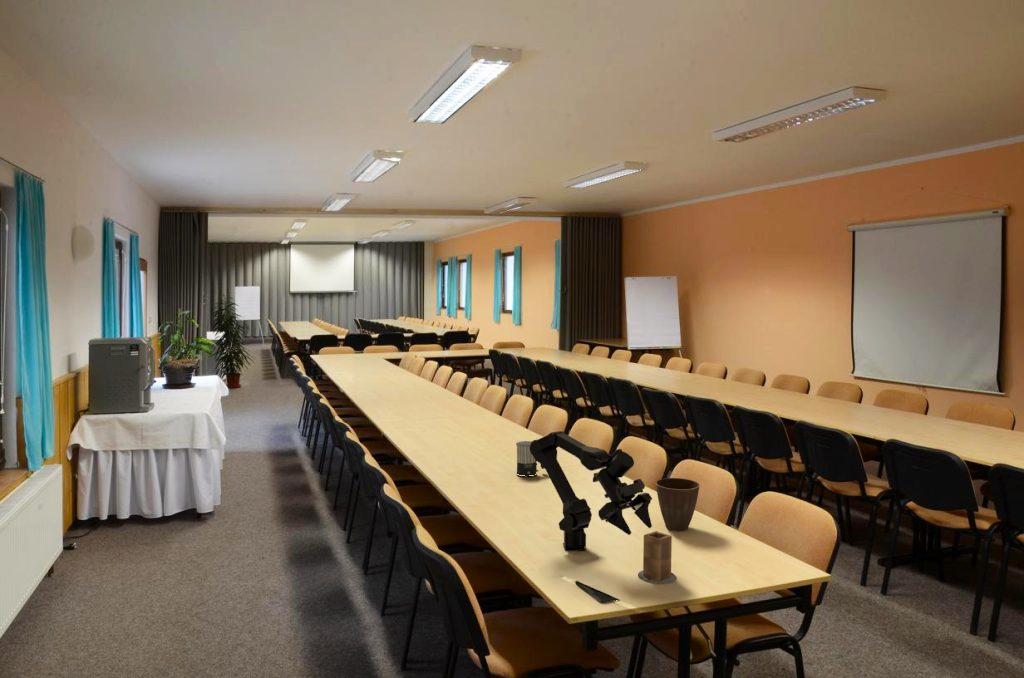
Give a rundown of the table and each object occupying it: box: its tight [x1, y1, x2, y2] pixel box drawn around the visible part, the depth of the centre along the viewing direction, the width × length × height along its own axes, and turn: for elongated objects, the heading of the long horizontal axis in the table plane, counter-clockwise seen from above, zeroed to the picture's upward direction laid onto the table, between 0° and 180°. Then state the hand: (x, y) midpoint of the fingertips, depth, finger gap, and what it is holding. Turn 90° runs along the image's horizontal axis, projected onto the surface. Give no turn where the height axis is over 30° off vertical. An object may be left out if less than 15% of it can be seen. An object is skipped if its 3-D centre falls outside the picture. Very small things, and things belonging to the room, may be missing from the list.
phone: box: [575, 580, 621, 604], centre depth 198 cm, size 8×1×15 cm
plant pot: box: [655, 477, 700, 532], centre depth 251 cm, size 15×15×16 cm
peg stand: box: [637, 570, 677, 585], centre depth 206 cm, size 11×11×4 cm
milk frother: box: [515, 440, 546, 476], centre depth 329 cm, size 14×16×15 cm
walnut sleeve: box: [642, 530, 673, 582], centre depth 205 cm, size 6×6×12 cm
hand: (640, 530), depth 210 cm, fingers open, 9 cm apart
